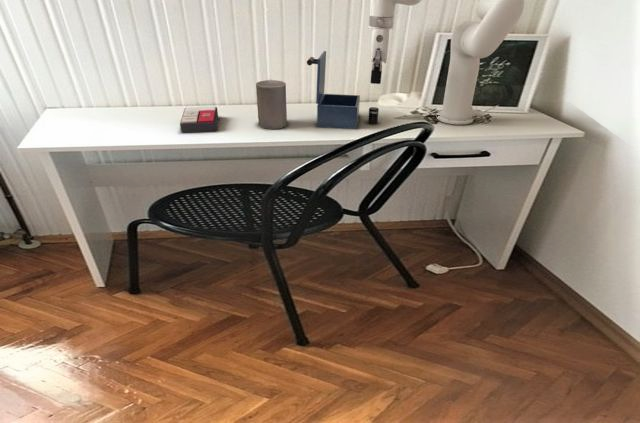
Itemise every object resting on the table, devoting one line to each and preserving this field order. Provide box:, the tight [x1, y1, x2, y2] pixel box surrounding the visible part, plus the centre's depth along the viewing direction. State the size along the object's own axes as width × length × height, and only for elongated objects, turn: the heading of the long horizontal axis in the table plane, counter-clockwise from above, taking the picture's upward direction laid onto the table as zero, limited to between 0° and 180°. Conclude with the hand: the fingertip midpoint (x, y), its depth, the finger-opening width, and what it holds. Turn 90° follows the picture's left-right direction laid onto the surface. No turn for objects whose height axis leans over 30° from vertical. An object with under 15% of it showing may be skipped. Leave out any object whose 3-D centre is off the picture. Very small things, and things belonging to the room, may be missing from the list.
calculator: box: [179, 106, 219, 134], centre depth 136 cm, size 11×4×15 cm
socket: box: [367, 106, 380, 125], centre depth 139 cm, size 3×3×5 cm
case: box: [316, 93, 361, 130], centre depth 140 cm, size 13×15×7 cm
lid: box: [306, 50, 327, 105], centre depth 135 cm, size 14×15×5 cm
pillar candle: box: [255, 78, 288, 130], centre depth 134 cm, size 10×10×15 cm
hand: (375, 80), depth 133 cm, fingers open, 9 cm apart
